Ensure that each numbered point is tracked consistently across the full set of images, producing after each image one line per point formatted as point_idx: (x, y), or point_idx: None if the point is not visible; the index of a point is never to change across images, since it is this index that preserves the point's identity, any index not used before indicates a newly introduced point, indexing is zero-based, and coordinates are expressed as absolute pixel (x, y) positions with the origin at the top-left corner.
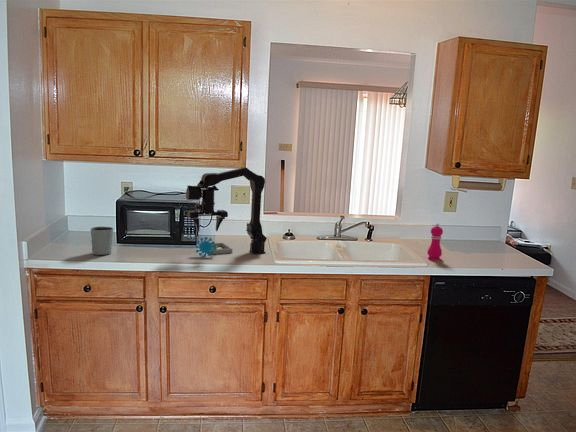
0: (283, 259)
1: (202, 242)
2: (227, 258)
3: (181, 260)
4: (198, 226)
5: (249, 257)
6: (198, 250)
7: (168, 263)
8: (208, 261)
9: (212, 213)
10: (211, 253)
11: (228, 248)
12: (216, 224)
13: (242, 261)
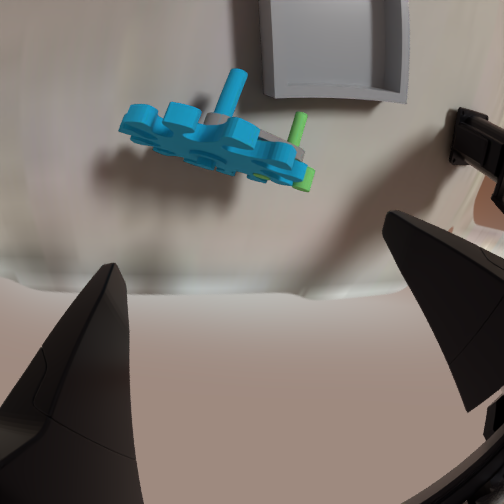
0: (465, 229)
1: (187, 140)
2: (323, 192)
3: (59, 224)
4: (120, 388)
5: (414, 189)
6: (150, 144)
7: (22, 272)
8: (204, 244)
9: (469, 499)
10: (264, 77)
11: (396, 55)
12: (450, 273)
13: (358, 247)
